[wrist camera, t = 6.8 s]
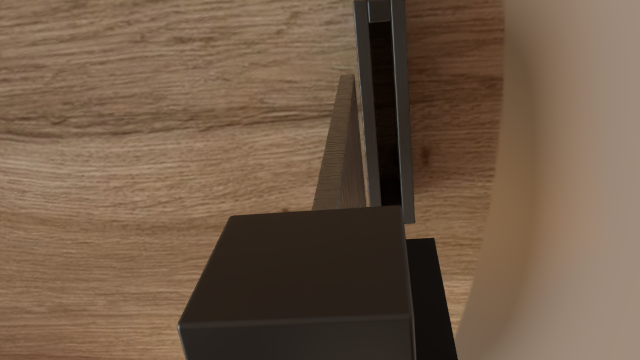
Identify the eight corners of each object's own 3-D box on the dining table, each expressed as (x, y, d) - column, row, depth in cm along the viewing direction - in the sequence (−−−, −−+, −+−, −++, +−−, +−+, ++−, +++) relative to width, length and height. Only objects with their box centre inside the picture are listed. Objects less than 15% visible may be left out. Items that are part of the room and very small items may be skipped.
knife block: (354, -8, 27) (352, 1, 24) (400, -13, 27) (404, -4, 24) (371, 196, 32) (371, 226, 28) (410, 193, 31) (414, 223, 28)
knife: (305, 59, 15) (174, 325, 5) (386, 52, 15) (413, 315, 5) (338, 324, 19) (299, 784, 9) (404, 322, 19) (441, 794, 9)
